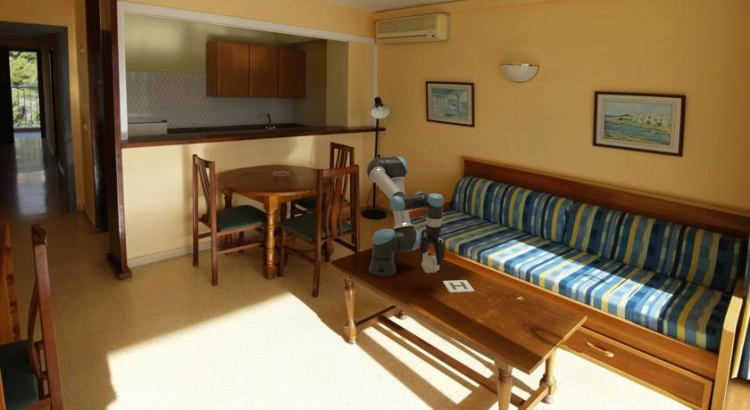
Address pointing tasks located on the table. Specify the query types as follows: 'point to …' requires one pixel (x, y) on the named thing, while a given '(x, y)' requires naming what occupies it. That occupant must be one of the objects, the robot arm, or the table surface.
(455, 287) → the board
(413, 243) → the robot arm
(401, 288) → the table surface
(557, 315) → the table surface
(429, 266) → the die
